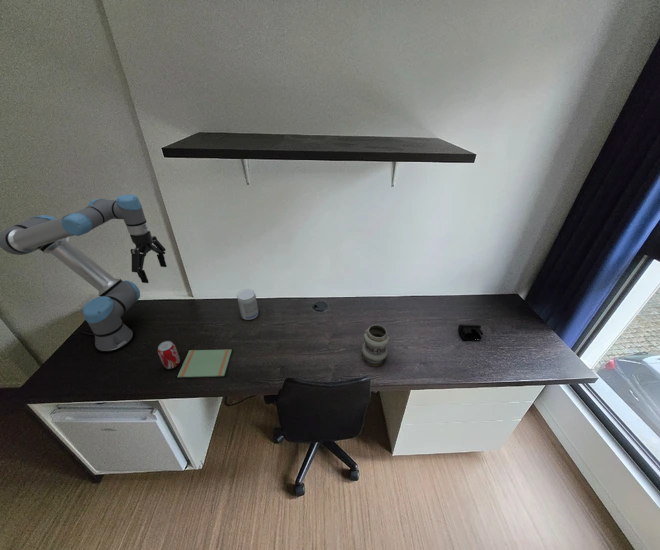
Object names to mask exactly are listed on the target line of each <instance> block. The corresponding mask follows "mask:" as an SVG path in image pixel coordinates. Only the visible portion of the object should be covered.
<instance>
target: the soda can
mask: <svg viewBox="0 0 660 550" xmlns="http://www.w3.org/2000/svg"><path fill="white" fill-rule="evenodd" d="M157 355H158V356H159V359H160V361H161V363H162V366H164V368H165V369H167V370H171V369H174V368H177V366H179V365H180V363H181V357H180V355H179V351H178V349H177V346H176V345H175V343H174V342H173V341H171V340H164V341H162V342H160V343H159V345H158V346H157Z"/></svg>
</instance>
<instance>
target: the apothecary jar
mask: <svg viewBox="0 0 660 550" xmlns="http://www.w3.org/2000/svg"><path fill="white" fill-rule="evenodd" d="M363 340H364V342H363V343H362V345H361V352H362V354H363V355H362V358H363V359H362V360H364V361H365V362H366V364H367V365H369V366H372V367H378V366H381V365H382V364H383V363H384V361H385V358H386V357H387V356H388V353H389V348H388V344H389V343H390V342H391V337H390V333H389V332H388V331H387V328H386V327H385V326H383V325H381V324H372V325H370V326H369V327H368V328H367V329H365V331H364V332H363Z"/></svg>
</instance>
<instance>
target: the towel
mask: <svg viewBox="0 0 660 550" xmlns="http://www.w3.org/2000/svg"><path fill="white" fill-rule="evenodd" d="M232 351H233V349H230V348H229V349H227V348H226V349H189V350H188V353H187V354H186V356H185V358H184V360H183V363H182V366H181V368H180V370H179V372H178V375H177V377H176V378H178V379H181V378H215V377H216V378H217V377H225V376H226V372H227V368H228V366H229V363H230V358H231V355H232Z"/></svg>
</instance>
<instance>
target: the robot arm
mask: <svg viewBox="0 0 660 550" xmlns="http://www.w3.org/2000/svg"><path fill="white" fill-rule="evenodd" d="M111 220H123V221H124V224H125V227H126V229H127V231H128V234H129V237H130V239H131V241H132V243H133V244H134V246H135V248H131V249H130V254H131V272H132V273H136V274H137V276H138V278H139V279H140V281H141V284H142V283H143V284H149V283H150V282H149V279H148V276H147V274H146V271H145V269H144V265H145V258H146V256H147V254H148V253H149V252H151V251H152V252H154V253H156V256H157V257H156V258H157V260H158V263H159V266H160V268H167V267H168V265H167V263H166V259H165V254H166V248H165V247H164V246H163V244H162V243H161V242H160V241H159V240H158V238H157V236H154V235H152V233H151V230H150V228H149V225H148V221H147V218H146V217H145V213H144V209H143V205H142V203H141V201H140V199H139V197H138V196H137V195H135V194H123V195H120V196H118V197H116V199H106V198H95V199H92V200H90V202H89V203H88V206H86V207H84V208H82V209H80V210H77V211H74V212H71V213H68V214H66V215H63V216H60V217H57V218H56V217H54V216H52V215H47V214H41V215H37V216H33V217H31V218H29V219H27V220H24V221H22V222H19V223H17V224H15V225H12V226H9V227H7V228H5V229H4V230H2V231H1V232H0V248H1V249H2V250H3V251H5V252H7V253H9V254H11V255H17V256H23V255H28V254H31V253H33V252H35V251H37V250H39V251H41V252H42V253H44V254H50V255H52V256H54V257H55V258H56V259H57V260H59V262H61V263H63V264H64V265H65V266H67V268H69V269H70V270H72V271H73V272H74V273H75V274H77V276H79V277H80V278H82V279H83V280H84V281H85V282H86V283H88V284H89V285H90V286H92V287H93V288H94V289H95V290H97V291H98V296H97V297H95V298H93V299H90V300H89V301H87V303H86V304H84V306H83V307H82V315H83V318H84V321H86V322H87V324H88V326H89V327H90V330H91V332H92V333H91V332H86V331H82V332H81V333H82V334H86V335H89V336H94V345H95V348H96V349H97V351H98V352H101V353H103V354H105V353H106V354H107V353H113V352H116V351H120V350H121V349H124V348H125V347H126V346H128V345H129V344H130V343H131V342H132V341H133V339H134V332H133V330H132V329H131V328H129V326H127V325H126V324H125V323H124V322H123V320H122V318H121V317H122V316H123V315H124V314H125V313H126V312H128V310H130V309H131V308H132V307H133V306H134V305H135V304H136V303H138V301H139V299H140V298H141V290H140V288H139V287H138V285H137V284H135V283H134V282H132V281H129V280H122V279H121V278H115V277H113V276H112V275H111V274H110V273H109V272H107V271H106V270H105V269H104V268H103V267H102V266H100V265H99V264H98V263H97V262H95V261H94V260H93V259H92V258H91V257H89V255H87V254H86V253H85V252H84V251H82V250H81V249H80V248H79V247H77V246H76V245H75V244H74V243H73V242H72V241H70V238H71V237H74V236H75V237H80V236H83V235H86V234H88V233H90V231H92V230H95V229H96V228H97V227H100V226H102V225H104V224H106V223H108V222H109V221H111Z"/></svg>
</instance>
